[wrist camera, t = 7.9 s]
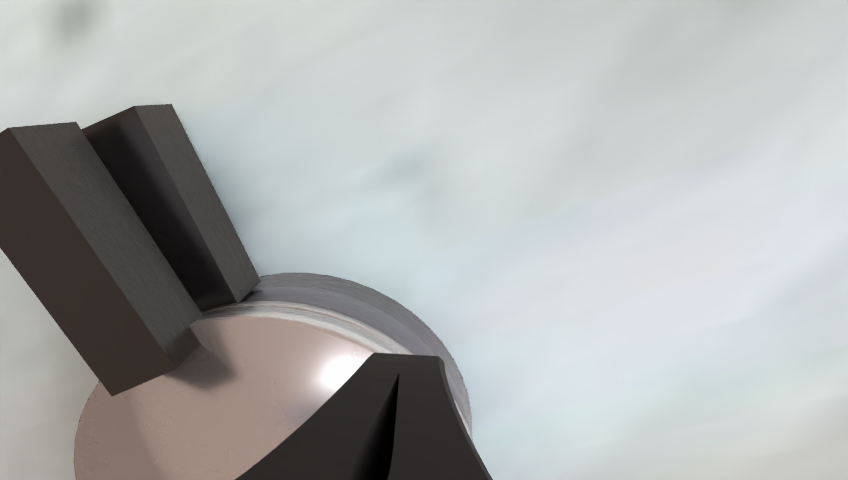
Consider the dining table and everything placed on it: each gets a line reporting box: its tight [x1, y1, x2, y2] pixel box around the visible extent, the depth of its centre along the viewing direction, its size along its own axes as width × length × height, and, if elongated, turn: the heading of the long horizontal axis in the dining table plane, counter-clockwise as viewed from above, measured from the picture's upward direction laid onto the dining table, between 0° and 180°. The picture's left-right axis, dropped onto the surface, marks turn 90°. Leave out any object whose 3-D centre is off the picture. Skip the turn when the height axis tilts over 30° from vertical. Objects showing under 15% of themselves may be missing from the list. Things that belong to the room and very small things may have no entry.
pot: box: [81, 104, 473, 441], centre depth 19 cm, size 23×14×4 cm, turn 21°
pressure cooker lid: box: [0, 122, 474, 480], centre depth 16 cm, size 21×15×2 cm
